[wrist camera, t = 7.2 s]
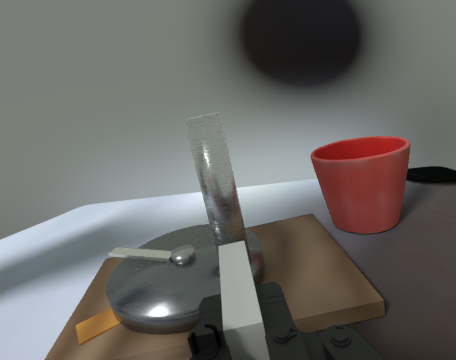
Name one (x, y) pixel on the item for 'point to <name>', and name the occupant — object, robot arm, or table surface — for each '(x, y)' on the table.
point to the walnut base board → (274, 271)
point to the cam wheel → (185, 248)
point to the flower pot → (363, 181)
